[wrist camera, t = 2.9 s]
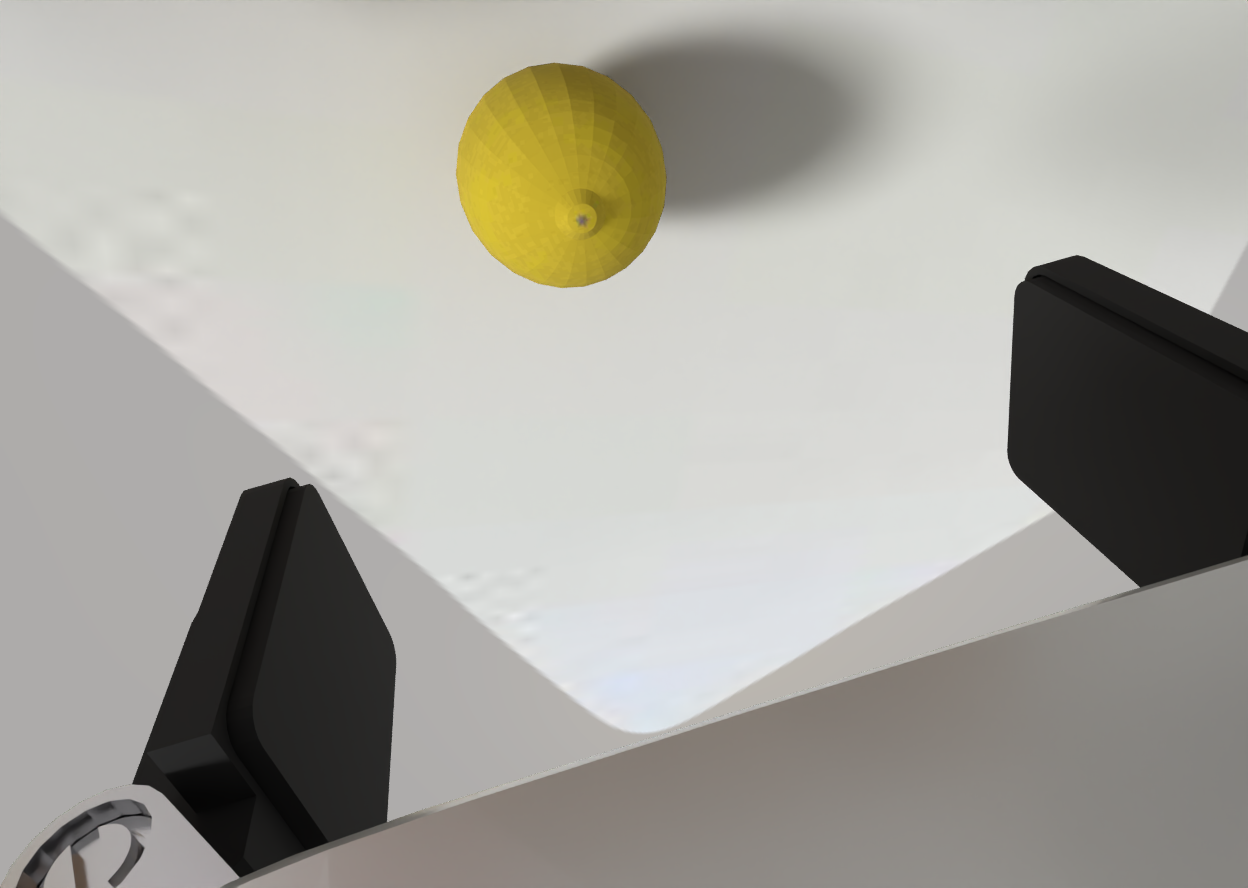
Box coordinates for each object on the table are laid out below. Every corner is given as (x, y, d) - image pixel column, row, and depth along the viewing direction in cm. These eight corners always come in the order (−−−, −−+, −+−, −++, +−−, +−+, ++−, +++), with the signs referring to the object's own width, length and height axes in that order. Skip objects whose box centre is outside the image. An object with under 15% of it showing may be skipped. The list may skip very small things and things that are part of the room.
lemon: (415, 129, 25) (406, 200, 18) (561, 4, 24) (608, 31, 17) (532, 267, 28) (561, 373, 21) (666, 161, 27) (742, 237, 20)
